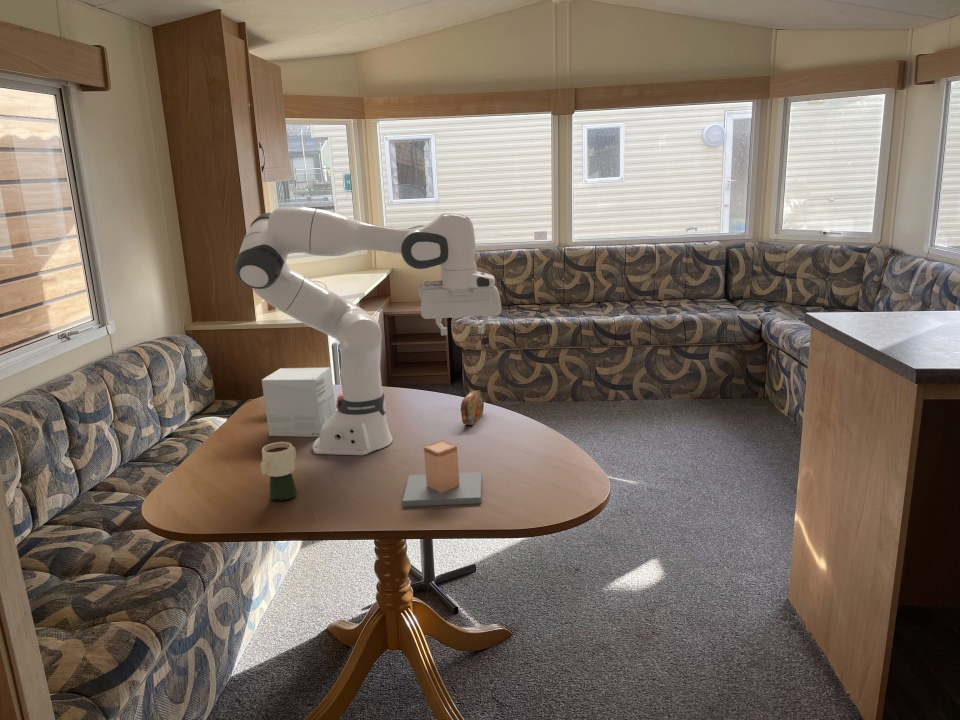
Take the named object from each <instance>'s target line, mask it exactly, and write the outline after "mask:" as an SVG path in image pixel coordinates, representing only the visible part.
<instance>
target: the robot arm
mask: <svg viewBox="0 0 960 720" xmlns="http://www.w3.org/2000/svg"><path fill="white" fill-rule="evenodd" d="M476 247H477V246H476V236H475V229H474V224H473V222H472V220H471V219H470V217H468V216H466V215H464V214H460V213H459V214H458V213H452V212H451V213H449V212H443V213H441V214H440V215H439V216H438V217H437V218H435V219H434V220H433V221H430V222H429V223H427V224H421V225H420V224H419V225H415V226H413V227H409V228H397V227H389V226H383V225H376V224H370V223H366V222H364V221H360V220H357V219H355V218H351V217H349V216H346V215H343V214H340V213H338V212H334V211H330V210H326V209H322V208H321V209H320V208H314V207H306V206H280V207H277V208H275V209H274V210H273V211H272V212H264V213H262V214H260V215H258V216H257V217H256V218H255V219H254V220H253V222H251V224H250V226H249V229H248V231H246V234H245V235H244V237H243V239H242V243H241V246H240V249H239V252H238V255H237V256H236V259H235V262H234V272H235V275H236V277H237V278H238V281H240V282H241V283H242V284H243V285H245V286H247V287H248V288H251V289H252V291H253V292H254V293H255V294H256V295H257V296H259V297H260V298H261V299H263V300H264V302H266V303H267V304H269V305H270V306H272V307H274V308H275V309H277V310H279V311H280V312H281V313H284V314H286V315H287V316H289V317H291V318H293V319H295V320H297V321H299V322H300V323H302V324H304V325H306V326H307V327H309V328H312V329H314V330H316V331H319V332H321V333H323V334H325V335H327V336H329V337H332V338H334V340H337V341H338V342H339V345H340V371H339V372H340V379H341V381H340V382H341V391H342V393H340V394H339V395H338V397H337V399H336V402H335V408H336V409H337V410H336V412H335V413H334V414H333V415H332V416H331V417H329V418H328V419H327V420H326V421H325V422H324V423H323V425H322V427H321V431H320V437H317V438H316V439H315V440H314V443H313V444H312V452H313V453H314V454H316V455H338V456H339V455H341V456H345V455H346V456H347V455H348V456H365V455H367V454H369V453H372V452H374V451H377V450H381V449H383V448H386V447H387V446H389V445H390V444H392V442H393V439H394V438H393V437H392V435H391V431H390V429H389V424H388V421H387V417H386V412H387V411H386V410H387V404H386V398H385V393H384V392H383V385H382V376H381V356H382V340H383V333H382V329H381V325H380V323H379V321H378V320H377V319H376V318H375V317H374V316H372V314H370V313H368V312H367V311H366V310H365V309H363V308H361V307H360V306H358V305H356V304H355V303H353V302H351V301H349V300H347V299H345V298H343V297H342V296H339V294H337V293H335V292H333V291H331V290H330V289H327V288H325V287H324V286H322V285H320V284H318V283H317V282H315V281H313V280H312V279H310V278H308V277H306V276H305V275H303V274H301V273H300V272H297V271H295V270H294V269H292V268H291V267H290V266H289V265H288V263H287V259H288V255H290V254H291V253H303V254H308V255H313V256H321V257H337V256H344V255H346V254H350V253H353V252H358V251H367V250H368V251H375V252H377V251H378V252H384V253H393V254H399V255H401V256H402V258H403V261H404V262H405V263H406V264H407V265H408V266H410V267H411V268H413V269H416V270H427V269H431V268H433V267H436V266H440V272H441V273H440V274H441V276H440V277H441V280H432V281H429V280H427V281H423V283H421V284H420V285H419V286H418V291H417V292H418V297H419V298H420V299H421V303H420V315H421V317H422V318H423V319H425V320H432V319H433V320H434V319H435V324H436V325H437V327H438V328H439V329H440V335H441V336H447V335H448V327H447V326H445V327H444V325H443V324H442V319H449V318H453V319H454V318H468V317H472V318H473V317H481V318H482V323H481V325H478V326H477V327H478V328H477V329H478V334H479V335H480V334H485V326H486V324H487V322H488V321H489V316H491V317H492V316H499V315H500V314H501V313H502V302H501V301H502V300H501V297H500V292H499V289H498V286H496V285H495V284H496V279H495V276H494V275H492V274H490V273H486V272H483V271H482V272H481V271H478V269H477V268H478V266H477V263H476V260H475V259H476V258H475V254H476V250H477V249H476Z"/></svg>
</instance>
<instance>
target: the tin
mask: <svg viewBox="0 0 960 720" xmlns="http://www.w3.org/2000/svg"><path fill="white" fill-rule="evenodd" d="M460 404H461V405H460V414H461V421H462V423H463V424H464V426H474V425H475V424H476V423H477V422H478V421H479V420H480V418H481V417H482V415H483V413H484V397H483V393H482V391H481V390H471V391H469V392H468V394H467V395H466V396H465V397H464V398H463V399H462V401H461V403H460Z"/></svg>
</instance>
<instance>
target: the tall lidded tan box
mask: <svg viewBox="0 0 960 720" xmlns="http://www.w3.org/2000/svg"><path fill="white" fill-rule="evenodd" d="M423 455H424V466H425V474H426V482H427V486H428V487H430V488H432V489H434V490H436V491H438V492H440V493H442V492H445V491H447V490H450V489H452V488H455V487H457V486H460V484H459V473H460V471H459V458H458V457H459V456H458V446H457V445H456V444H455V445H454V444H452V443H449V442H447V441H444V440H440V441H438V442H434V443H432V444H429V445H426V446H423Z"/></svg>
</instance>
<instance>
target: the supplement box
mask: <svg viewBox="0 0 960 720" xmlns="http://www.w3.org/2000/svg"><path fill="white" fill-rule="evenodd" d="M332 377H333V375H332V368H331V367H329V366H328V367H285V368H284V367H281V368H278V369H277V370H275V371H274V372H272V373H271V374H269V375H267V376H265V377H264V378H262V379H261V385H262V391H263V399H264V407H265V414H266V420H267V421H266V422H267V429H268V435H269V437H306V438H307V437H311V438H313V437H314V438H315V437H317V438H319V437H320V431H321V427H322V425H323V423H324V422H325V421H326V420H327V419H328V418H329V417H331V416H332V415H333V414H334V413H335V412H336V411H337V410H336V409H337V408H336V401H335V393H334V385H333V378H332Z"/></svg>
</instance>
